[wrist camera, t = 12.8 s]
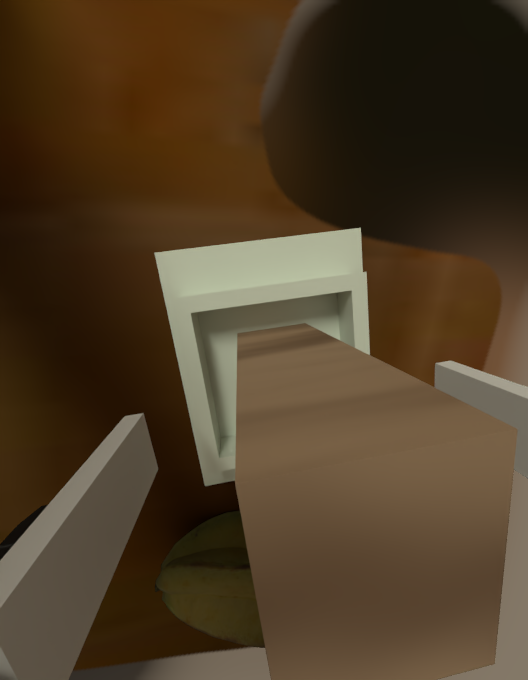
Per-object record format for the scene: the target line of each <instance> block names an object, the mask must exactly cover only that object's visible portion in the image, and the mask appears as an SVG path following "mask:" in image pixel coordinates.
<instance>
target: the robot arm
mask: <svg viewBox="0 0 528 680" xmlns="http://www.w3.org/2000/svg"><path fill="white" fill-rule="evenodd" d="M435 388H436V389H438V390H440V391H442V392H444V393H446V394H448V395H450V396H453V397H455V398H457V399H459V400H461V401H463V402H465V403H467V404H469V405H471V406H473V407H475V408H477V409H479V410H481V411H483V412H485V413H487V414H489V415H491V416H493V417H495V418H497V419H499V420H501V421H503V422H505V423H507V424H509V425H511V426H513V427H515V428H517V429H518V432H517V442H516V452H515V462H514V470H515V471H517V472H519V473H520V474H522V475H523V476H525V477H526V478H528V387H525V386H523V385H520V384H517V383H514V382H511V381H508V380H505V379H502V378H500V377H497V376H493V375H491V374H488V373H485V372H482V371H479V370H476V369H473V368H470V367H467V366H465V365H462V364H459V363H456V362H453V361H446V362H440V363H435ZM157 471H158V466H157V462H156V458H155V454H154V451H153V447H152V443H151V439H150V436H149V432H148V428H147V424H146V420H145V417H144V413H141V414H135V415H129V416H124V418H123V419H122V420H121V421H120V422H119V423H118V425H117V426H116V427H115V428H114V429H113V430H112V431H111V433H110V434H109V435H108V436H107V437H106V438H105V440H104V441H103V442H102V443H101V444H100V445H99V447H98V448H97V449H96V450H95V451H94V452H93V453H92V455H91V456H90V457H89V458H88V459H87V460H86V462H85V463H84V464H83V465H82V466H81V467H80V469H79V470H78V471H77V472H76V473H75V474H74V476H73V477H72V478H71V479H70V480H69V481H68V482H67V484H66V485H65V486H64V487H63V488H62V489H61V491H60V492H59V493H58V494H57V495H56V496H55V498H54V499H53V500H52V501H51V502H50V503H49V505H45V506H41V507H40V508H39V509H37V510H36V511H35V512H34V513H32V514H31V515H30V516H29V517H27V518H26V519H25V520H24V521H22V522H21V523H20V524H19V525H18V526H17V527H16V528H15V529H14V530H13V531H12V532H11V533H10V534H9V535H8V536H7V538H6V539H5V540H4V541H3V542H2V543H1V544H0V680H69V677H70V675H71V673H72V670H73V668H74V666H75V663H76V661H77V659H78V656H79V654H80V652H81V649H82V647H83V644H84V642H85V640H86V637H87V635H88V633H89V630H90V628H91V626H92V623H93V621H94V619H95V616H96V614H97V612H98V609H99V607H100V605H101V602H102V600H103V598H104V595H105V593H106V591H107V588H108V586H109V584H110V581H111V579H112V577H113V574H114V572H115V569H116V567H117V565H118V562H119V560H120V558H121V555H122V553H123V551H124V548H125V546H126V544H127V541H128V539H129V537H130V534H131V532H132V530H133V527H134V525H135V523H136V520H137V518H138V516H139V513H140V511H141V509H142V506H143V504H144V502H145V499H146V497H147V494H148V492H149V490H150V487H151V485H152V483H153V480H154V478H155V476H156V473H157Z"/></svg>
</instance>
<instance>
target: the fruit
mask: <svg viewBox="0 0 528 680" xmlns="http://www.w3.org/2000/svg"><path fill="white" fill-rule="evenodd" d="M159 590H161V591H163V596H162V600H163V601H164V602H165V603H166V606H167V608H168V609H169V610H170V611H171V612H172V613H173V614H174V615H175V616H176V617H177V618H178V619H180V620H181V621H183V622H184V623H186V624H187V625H188V626H190V627H192V628H194V629H196V630H198V631H200V632H203V633H205V634H207V635H210V636H212V637H215V638H219V639H223V640H227V641H230V642H234V643H237V644H242V645H247V646H253V647H260V648H265V643H264V638H263V632H262V627H261V621H260V616H259V611H258V605H257V600H256V594H255V589H254V583H253V578H252V573H251V567H250V562H249V556H248V551H247V546H246V540H245V535H244V529H243V524H242V518H241V513H240V511H232V512H226V513H223V514H221V515H218V516H216V517H214V518H211V519H209V520H207V521H205V522H203V523H202V524H200V525H199V526H197V527H196V528H194V529H193V530H191V531H190V532H189V533H187V534H186V535H185V536H184V537H183V538H181V539H180V540H179V541H178V542H176V543H175V544H174V546H173V548H172V549H171V551H170V552H169V554H168V555H167V557H166V558H165V560H164V561H163V563H162V564H161V573H160V574H159V576H158V578H157V579H156V584H155V592H157V591H159Z"/></svg>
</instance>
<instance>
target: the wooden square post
mask: <svg viewBox="0 0 528 680" xmlns="http://www.w3.org/2000/svg"><path fill="white" fill-rule="evenodd" d="M517 432H518V429H517V428H515V427H513V426H511V425H509V424H507V423H505V422H503V421H501V420H499V419H497V418H495V417H493V416H491V415H489V414H487V413H485V412H483V411H481V410H479V409H477V408H475V407H473V406H471V405H469V404H467V403H465V402H463V401H461V400H459V399H457V398H455V397H453V396H450V395H448V394H446V393H444V392H442V391H440V390H438V389H436V388H434V387H432V386H430V385H428V384H426V383H424V382H422V381H420V380H418V379H416V378H414V377H412V376H410V375H408V374H406V373H404V372H402V371H400V370H398V369H396V368H394V367H392V366H390V365H388V364H386V363H384V362H382V361H380V360H378V359H376V358H374V357H372V356H370V355H368V354H366V353H364V352H362V351H360V350H358V349H356V348H354V347H352V346H350V345H348V344H346V343H344V342H342V341H340V340H338V339H336V338H334V337H332V336H330V335H328V334H326V333H324V332H322V331H320V330H318V329H316V328H314V327H312V326H310V325H308V324H306V323H303V324H297V325H290V326H283V327H276V328H270V329H263V330H256V331H249V332H243V333H237V389H236V457H235V486H236V491H237V497H238V502H239V508H240V513H241V518H242V524H243V529H244V535H245V540H246V546H247V551H248V556H249V562H250V567H251V573H252V578H253V583H254V589H255V594H256V600H257V605H258V611H259V616H260V621H261V627H262V632H263V638H264V643H265V648H266V654H267V659H268V665H269V670H270V676H271V680H437V679H441V678H444V677H448V676H452V675H455V674H459V673H463V672H467V671H470V670H474V669H478V668H482V667H485V666H489V665H493V664H495V655H496V644H497V634H498V624H499V614H500V603H501V594H502V584H503V572H504V563H505V553H506V542H507V533H508V523H509V513H510V501H511V492H512V481H513V472H514V462H515V452H516V442H517Z"/></svg>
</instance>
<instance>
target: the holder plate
mask: <svg viewBox="0 0 528 680" xmlns="http://www.w3.org/2000/svg"><path fill="white" fill-rule="evenodd" d="M155 257H156V262H157V267H158V271H159V276H160V281H161V285H162V290H163V295H164V299H165V304H166V308H167V313H168V318H169V322H170V327H171V332H172V336H173V341H174V346H175V350H176V355H177V359H178V364H179V369H180V373H181V378H182V383H183V387H184V392H185V396H186V401H187V406H188V410H189V415H190V420H191V424H192V429H193V434H194V438H195V443H196V447H197V452H198V457H199V461H200V466H201V471H202V475H203V480H204V485H205V486H209V485H214V484H219V483H224V482H229V481H235V457H236V389H237V333H243V332H249V331H256V330H263V329H270V328H276V327H283V326H290V325H297V324H303V323H306V324H308V325H310V326H312V327H314V328H316V329H318V330H320V331H322V332H324V333H326V334H328V335H330V336H332V337H334V338H336V339H338V340H340V341H342V342H344V343H346V344H348V345H350V346H352V347H354V348H356V349H358V350H360V351H362V352H364V353H366V354H368V355H370V347H369V323H368V298H367V274H366V272H363V268H362V245H361V228H356V229H348V230H339V231H331V232H323V233H314V234H306V235H298V236H290V237H281V238H273V239H265V240H257V241H248V242H240V243H232V244H223V245H215V246H207V247H199V248H190V249H182V250H174V251H166V252H157V253H155Z"/></svg>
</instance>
